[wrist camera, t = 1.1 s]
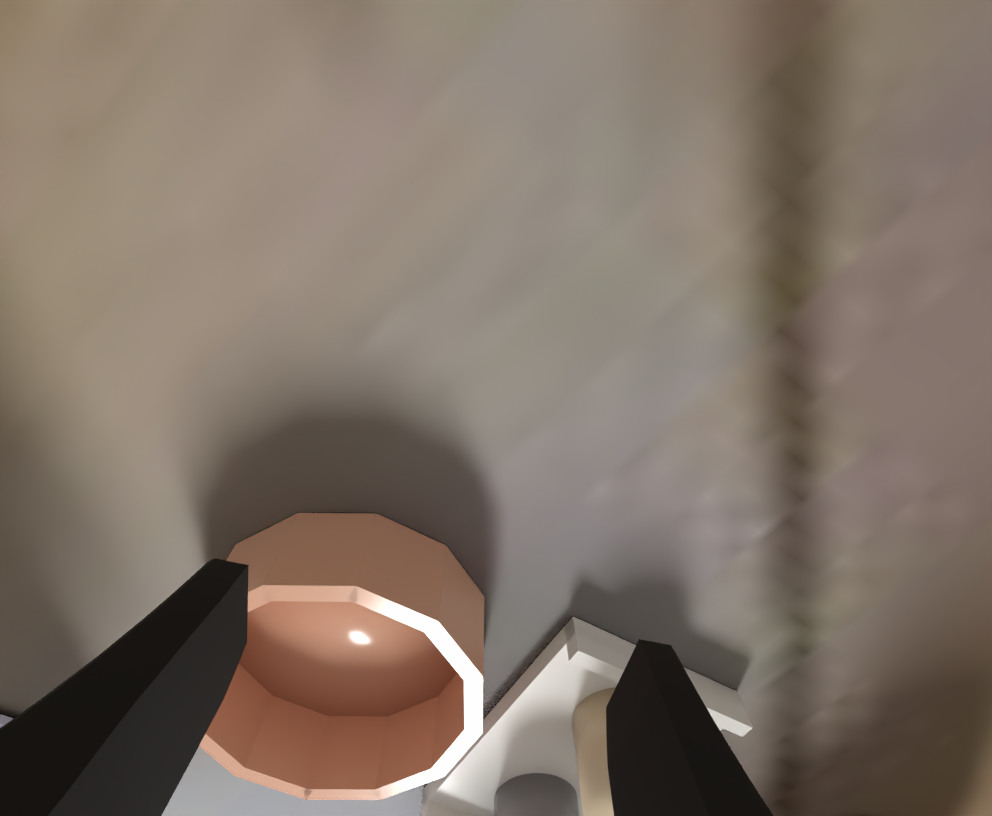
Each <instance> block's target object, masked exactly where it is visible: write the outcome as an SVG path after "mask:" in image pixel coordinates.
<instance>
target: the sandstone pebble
mask: <svg viewBox="0 0 992 816" xmlns="http://www.w3.org/2000/svg"><path fill="white" fill-rule="evenodd" d="M615 688H616V687H615ZM615 688H608V689H604V690H600V691H597V692H595V693H593V694H591V695H589V696H587V697H586V698H585V699H583V700H582V701H581V702H580V703H579V704H578V705H577V706H576V708H575V710H574V712H573V714H572V719H571V723H572V731H573V738H574V746H575V754H576V762H577V770H578V778H579V785H580V793H581V801H582V809H583V816H614V811H613V804H612V797H611V789H610V782H609V774H608V764H607V739H606V707H607V705H608V702H609V700H610V698H611V696H612V694H613V692H614V690H615Z"/></svg>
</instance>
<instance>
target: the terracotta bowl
mask: <svg viewBox="0 0 992 816" xmlns="http://www.w3.org/2000/svg"><path fill="white" fill-rule="evenodd" d="M226 561H230V562H235V563H241V564H246V565H249V567H248V620H247V644H246V646H245V649H244V651H243V654H242V656H241V659H240V661H239V664H238V666H237V669H236V671H235V674H234V676H233V678H232V681H231V683H230V685H229V688H228V690H227V693H226V695H225V697H224V700H223V702H222V703H221V705H220V707H219V709H218V711H217V713H216V715H215V717H214V719H213V720H212V722H211V724H210V726H209V728H208V730H207V732H206V734H205V735H204V737H203V739H202V741H201V743H200V745H199V746H200V747H201V748H202V749H203V750H204V751H206V752H207V753H208V754H209V755H210V756H212V757H213V758H214V759H215V760H216V761H218V762H219V763H220V764H221V765H222V766H223V767H225V768H226V769H227V770H228V771H229V772H231V773H232V774H233V775H234V776H237V777H240V778H243V779H246V780H249V781H252V782H255V783H258V784H261V785H264V786H267V787H270V788H273V789H276V790H279V791H281V792H284V793H287V794H290V795H293V796H296V797H299V798H302V799H305V800H382V799H385V798H387V797H390V796H393V795H396V794H398V793H401V792H404V791H406V790H409V789H412V788H415V787H417V786H420V785H423V784H426V783H428V782H431V781H434V780H437V779H439V778H442V777H444V776H445V775H446V774H447V773H448V772H449V771H450V770H451V768H452V767H453V766H454V765H455V764H456V763H457V762H458V760H459V759H460V758H461V757H462V756H463V755H464V754H465V752H466V751H467V750H468V749H469V748H470V747H471V746H472V744H473V743H474V742H475V741H476V740H477V739H478V738H479V737H480V735H481V734H482V733H483V691H484V599H485V597H484V595H483V594H482V593H481V591H480V590H479V589H478V587H477V586H476V585H475V583H474V582H473V581H472V579H471V578H470V577H469V575H468V574H467V573H466V571H465V570H464V569H463V567H462V566H461V565H460V563H459V562H458V561H457V559H456V558H455V557H454V555H453V554H452V553H451V551H450V550H449V549H448V547H447V546H446V545H444V544H442V543H440V542H437V541H435V540H433V539H431V538H429V537H427V536H424V535H422V534H420V533H418V532H416V531H414V530H411V529H409V528H407V527H405V526H403V525H401V524H399V523H396V522H394V521H392V520H390V519H388V518H386V517H383V516H381V515H379V514H369V513H297V514H295V515H293V516H291V517H289V518H287V519H285V520H283V521H281V522H279V523H277V524H275V525H273V526H271V527H269V528H267V529H265V530H263V531H261V532H259V533H257V534H255V535H253V536H251V537H249V538H247V539H245V540H243V541H241V542H239V543H237V544H236V545H235V546H234V548H233V550H232V551H231V553H230V555H229V556H228V558H227V560H226Z"/></svg>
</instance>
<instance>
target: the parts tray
mask: <svg viewBox="0 0 992 816" xmlns="http://www.w3.org/2000/svg"><path fill="white" fill-rule="evenodd" d="M635 647H636V645H634V644H632V643H630V642H628V641H626V640H623V639H621V638H619V637H617V636H615V635H612V634H610V633H608V632H606V631H604V630H602V629H599V628H597V627H595V626H593V625H591V624H588V623H586V622H584V621H582V620H580V619H577V618H575V617H572V618H571V619H570V620H569V622H568V623H567V624H566V625H565V626H564V627H563V628H562V630H561V631H560V632H559V633H558V634H557V635H556V637H555V638H554V639H553V640H552V641H551V642H550V643H549V645H548V646H547V647H546V648H545V649H544V650H543V652H542V653H541V654H540V655H539V656H538V657H537V658H536V660H535V661H534V662H533V663H532V664H531V665H530V667H529V668H528V669H527V670H526V671H525V672H524V673H523V675H522V676H521V677H520V678H519V679H518V680H517V682H516V683H515V684H514V685H513V686H512V687H511V688H510V690H509V691H508V692H507V693H506V694H505V695H504V697H503V698H502V699H501V700H500V701H499V702H498V703H497V705H496V706H495V707H494V708H493V709H492V710H491V712H490V713H489V714H488V715H487V716H486V717H485V718H484V720H483V733H482V734H481V735H480V737H479V738H478V739H477V740H476V741H475V742H474V743H473V744H472V746H471V747H470V748H469V749H468V750H467V751H466V752H465V754H464V755H463V756H462V757H461V758H460V759H459V760H458V762H457V763H456V764H455V765H454V766H453V767H452V768H451V770H450V771H449V772H448V773H447V774H446V775H445V776H444V777H442V778H439V779H437V780H434V781H431V782H429V783H428V784H427V785H426V786H425V788H424V789H423V796H422V806H421V815H420V816H494V796H495V793H496V791H497V789H498V788H499V787H500V786H501V785H502V784H503V783H505V782H506V781H508V780H509V779H511V778H514V777H516V776H520V775H524V774H530V773H544V774H550V775H555V776H558V777H560V778H562V779H564V780H566V781H567V782H569V783H570V784H571V785H572V786H573V787H574V789H575V790H576V793H577V798H578V806H579V814H580V816H583V809H582V801H581V793H580V785H579V778H578V770H577V762H576V754H575V746H574V738H573V731H572V723H571V719H572V714H573V712H574V710H575V708H576V706H577V705H578V704H579V703H580V702H581V701H582V700H583V699H585V698H586V697H587V696H589V695H591V694H593V693H595V692H597V691H600V690H604V689H608V688H615V687H616V686H617V684H618V682H619V680H620V678H621V676H622V674H623V672H624V669H625V667H626V665H627V663H628V661H629V659H630V657H631V655H632V653H633V651H634V649H635ZM684 669H685V671H686V672H687V674H688V676H689V678H690V680H691V681H692V683H693V685H694V687H695V688H696V690H697V692H698V694H699V695H700V697H701V699H702V701H703V702H704V704H705V706H706V708H707V709H708V711H709V713H710V715H711V716H712V718H713V720H714V721H715V723H716V725H717V727H718V728H719V730H720V731H721V730H722V729H725V730H728V731H730V732H732V733H735V734H737V735H739V736H741V737H743V736H744V735H745V734H746V733H747V732H749V731H750V730H751V729H752V728H753V727H752V725H751V722H750V720H749V718H748V715H747V713H746V710H745V708H744V706H743V703H742V701H741V699H740V696H739V694H738V692H737V691H735V690H733V689H731V688H728V687H726V686H724V685H722V684H720V683H717V682H715V681H713V680H711V679H709V678H706V677H704V676H702V675H700V674H698V673H696V672H693V671H691V670H689V669H687V668H685V667H684Z"/></svg>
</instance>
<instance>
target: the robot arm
mask: <svg viewBox="0 0 992 816" xmlns="http://www.w3.org/2000/svg"><path fill="white" fill-rule="evenodd" d="M248 567H249V565H246V564H241V563H235V562H230V561H225V560H220V559H212V560H211V561H209V562H207V563H206V564H205V565H204V566H203V567H202V568H201V569H200V570H199V571H197V572H196V573H195V574H194V575H193V576H192V577H191V578H190V579H189V580H187V581H186V582H185V583H184V584H183V585H182V586H181V587H180V588H179V589H177V590H176V591H175V592H174V593H173V594H172V595H171V596H170V597H168V598H167V599H166V600H165V601H164V602H163V603H161V604H160V605H159V606H158V607H157V608H156V609H154V610H153V611H152V612H151V613H150V614H149V615H147V616H146V617H145V618H144V619H143V620H142V621H140V622H139V623H138V624H137V625H135V626H134V627H133V628H132V629H131V630H129V631H128V632H127V633H126V634H125V635H123V636H122V637H121V638H120V639H118V640H117V641H116V642H115V643H114V644H112V645H111V646H110V647H109V648H107V649H106V650H105V651H104V652H102V653H101V654H100V655H99V656H97V657H96V658H95V659H94V660H92V661H91V662H90V663H88V664H87V665H86V666H84V667H83V668H82V669H80V670H79V671H78V672H76V673H75V674H74V675H72V676H71V677H70V678H68V679H67V680H66V681H65V682H63V683H62V684H61V685H59V686H58V687H57V688H55V689H54V690H53V691H51V692H50V693H49V694H47V695H46V696H45V697H43V698H42V699H41V700H39V701H38V702H36V703H35V704H34V705H32V706H31V707H29V708H28V709H27V710H25V711H24V712H22V713H21V714H19V715H18V716H17V717H15V718H11V717H8V716H5V715H2V714H0V816H161V815H162V813H163V811H164V810H165V808H166V806H167V804H168V802H169V800H170V798H171V797H172V795H173V793H174V791H175V789H176V787H177V785H178V784H179V782H180V780H181V778H182V776H183V774H184V773H185V771H186V769H187V767H188V765H189V763H190V761H191V760H192V758H193V756H194V754H195V752H196V750H197V749H198V747H199V745H200V743H201V741H202V739H203V737H204V735H205V734H206V732H207V730H208V728H209V726H210V724H211V722H212V720H213V719H214V717H215V715H216V713H217V711H218V709H219V707H220V705H221V703H222V702H223V700H224V697H225V695H226V693H227V690H228V688H229V685H230V683H231V681H232V678H233V676H234V674H235V671H236V669H237V666H238V664H239V661H240V659H241V656H242V654H243V651H244V649H245V646H246V644H247V620H248ZM606 739H607V764H608V774H609V782H610V789H611V797H612V804H613V811H614V816H773V814H772V813H771V811H770V810H769V808H768V807H767V805H766V804H765V802H764V801H763V799H762V798H761V796H760V795H759V793H758V792H757V790H756V788H755V787H754V785H753V784H752V782H751V781H750V779H749V778H748V776H747V774H746V773H745V771H744V769H743V768H742V766H741V765H740V763H739V761H738V760H737V758H736V756H735V755H734V753H733V751H732V750H731V748H730V747H729V745H728V743H727V742H726V740H725V738H724V737H723V735H722V733H721V732H720V730H719V728H718V727H717V725H716V723H715V721H714V720H713V718H712V716H711V715H710V713H709V711H708V709H707V708H706V706H705V704H704V702H703V701H702V699H701V697H700V695H699V694H698V692H697V690H696V688H695V687H694V685H693V683H692V681H691V680H690V678H689V676H688V674H687V672H686V671H685V669H684V667H683V665H682V664H681V662H680V660H679V658H678V657H677V655H676V653H675V651H674V650H673V648H672V647H671V645H666V644H661V643H655V642H650V641H645V640H640V639H639V641H638V643H637V645H636V647H635V649H634V651H633V653H632V655H631V657H630V659H629V661H628V663H627V665H626V667H625V669H624V672H623V674H622V676H621V678H620V680H619V682H618V684H617V686H616V688H615V690H614V692H613V694H612V696H611V698H610V700H609V702H608V705H607V707H606Z"/></svg>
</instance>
